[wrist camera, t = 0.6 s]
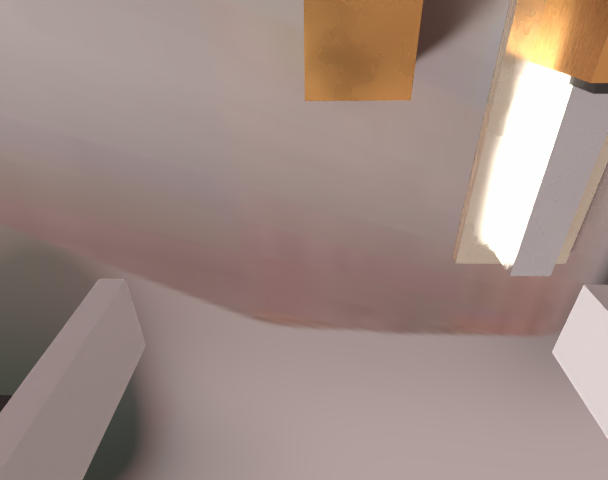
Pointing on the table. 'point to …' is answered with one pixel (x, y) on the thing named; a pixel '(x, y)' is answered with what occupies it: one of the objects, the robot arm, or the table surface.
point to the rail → (539, 138)
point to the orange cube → (360, 49)
